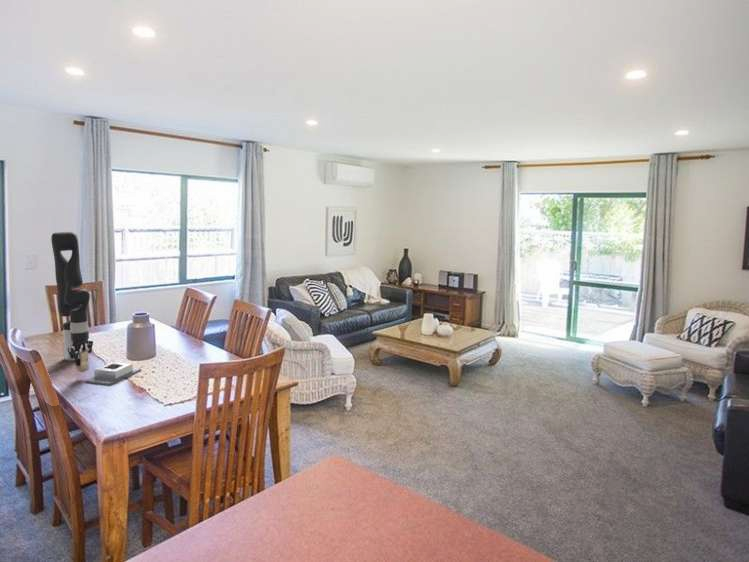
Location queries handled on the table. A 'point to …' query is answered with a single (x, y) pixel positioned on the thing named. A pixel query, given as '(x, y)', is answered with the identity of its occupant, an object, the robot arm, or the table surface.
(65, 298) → the robot arm
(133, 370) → the square peg board
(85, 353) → the wooden square peg
